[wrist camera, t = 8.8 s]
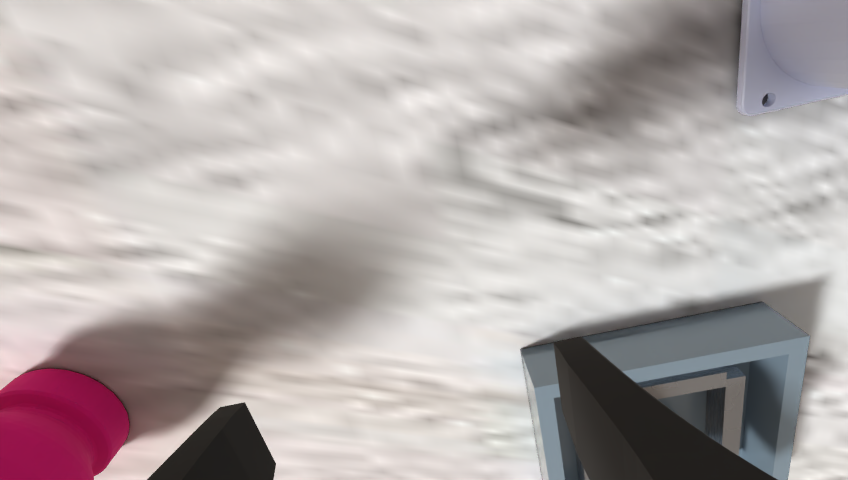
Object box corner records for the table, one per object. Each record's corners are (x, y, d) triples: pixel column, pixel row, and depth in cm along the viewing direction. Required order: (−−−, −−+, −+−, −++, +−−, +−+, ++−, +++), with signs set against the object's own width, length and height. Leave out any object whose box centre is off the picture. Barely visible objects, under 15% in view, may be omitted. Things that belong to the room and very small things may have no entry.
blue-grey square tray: (762, 301, 21) (810, 335, 19) (745, 470, 26) (782, 515, 24) (520, 349, 22) (534, 388, 20) (546, 504, 27) (560, 551, 24)
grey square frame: (726, 349, 22) (746, 368, 21) (719, 461, 25) (736, 483, 24) (566, 380, 22) (576, 400, 21) (579, 485, 26) (588, 508, 24)
